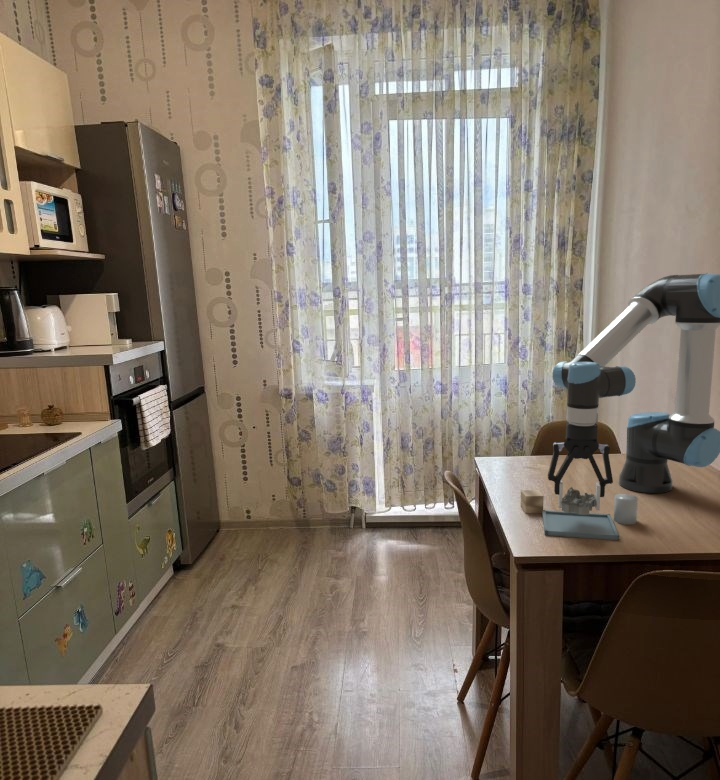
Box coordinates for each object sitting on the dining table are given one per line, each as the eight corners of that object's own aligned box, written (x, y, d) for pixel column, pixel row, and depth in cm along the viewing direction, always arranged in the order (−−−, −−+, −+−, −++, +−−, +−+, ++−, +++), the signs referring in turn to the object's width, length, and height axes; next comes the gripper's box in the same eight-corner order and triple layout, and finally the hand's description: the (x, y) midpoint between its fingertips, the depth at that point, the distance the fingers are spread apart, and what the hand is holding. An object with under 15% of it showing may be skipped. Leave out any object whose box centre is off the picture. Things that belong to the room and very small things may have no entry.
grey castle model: (570, 500, 164) (570, 485, 163) (599, 505, 159) (599, 490, 159) (557, 511, 155) (557, 496, 155) (587, 517, 151) (587, 501, 150)
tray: (609, 518, 163) (610, 514, 163) (618, 540, 149) (619, 535, 149) (542, 514, 167) (542, 510, 167) (544, 535, 153) (544, 530, 153)
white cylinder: (634, 517, 163) (635, 494, 162) (638, 525, 158) (639, 501, 157) (612, 516, 164) (613, 493, 163) (615, 523, 159) (616, 500, 158)
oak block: (537, 506, 173) (538, 489, 172) (543, 512, 168) (543, 495, 168) (520, 507, 173) (520, 490, 172) (525, 513, 168) (525, 496, 168)
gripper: (624, 420, 154) (619, 505, 158) (538, 418, 160) (535, 499, 163) (629, 427, 147) (624, 515, 151) (539, 424, 152) (536, 509, 156)
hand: (578, 507), depth 157 cm, fingers closed on grey castle model, 8 cm apart
